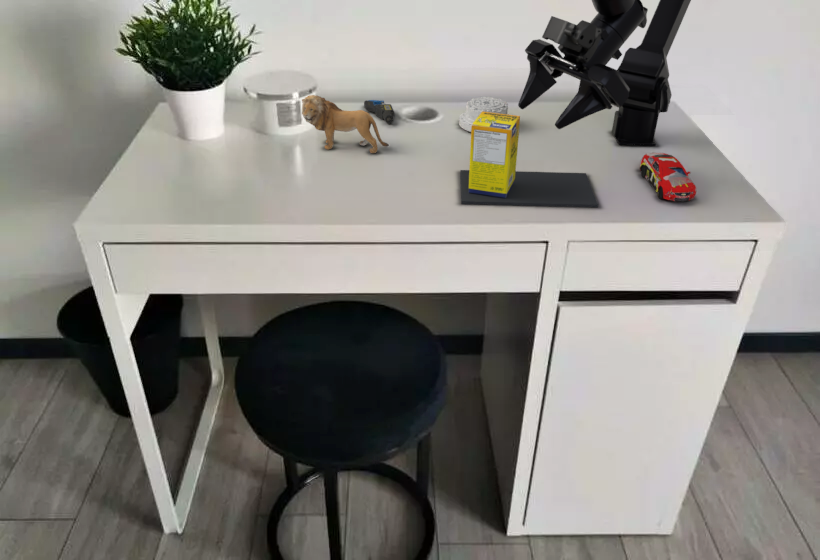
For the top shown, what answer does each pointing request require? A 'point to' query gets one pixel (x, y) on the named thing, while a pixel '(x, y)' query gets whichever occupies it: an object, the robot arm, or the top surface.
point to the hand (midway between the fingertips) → (537, 117)
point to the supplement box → (493, 154)
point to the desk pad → (537, 190)
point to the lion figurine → (339, 121)
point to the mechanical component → (481, 105)
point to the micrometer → (380, 109)
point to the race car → (667, 177)
